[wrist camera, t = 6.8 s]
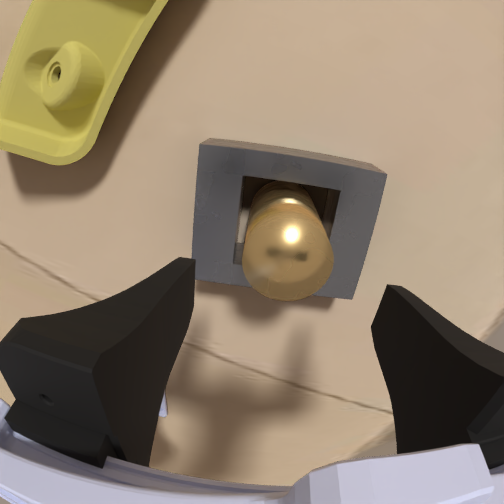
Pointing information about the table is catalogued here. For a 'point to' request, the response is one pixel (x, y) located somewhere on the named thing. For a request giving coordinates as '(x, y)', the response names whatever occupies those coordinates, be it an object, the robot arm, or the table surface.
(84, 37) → the plastic component
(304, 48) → the table surface
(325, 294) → the frame
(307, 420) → the table surface
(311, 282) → the gold metal cylinder
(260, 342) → the table surface
